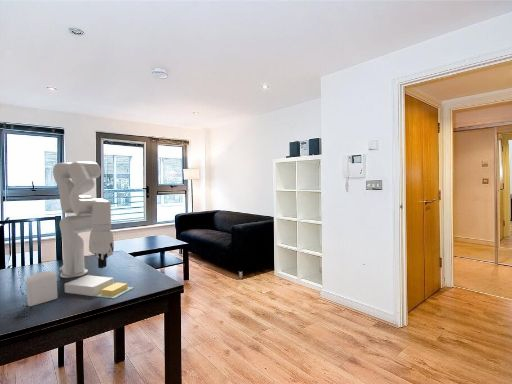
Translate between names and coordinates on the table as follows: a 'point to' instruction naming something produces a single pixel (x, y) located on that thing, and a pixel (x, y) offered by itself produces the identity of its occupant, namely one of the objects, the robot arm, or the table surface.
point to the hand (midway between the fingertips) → (102, 267)
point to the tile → (114, 288)
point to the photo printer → (41, 288)
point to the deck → (88, 285)
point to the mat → (115, 294)
